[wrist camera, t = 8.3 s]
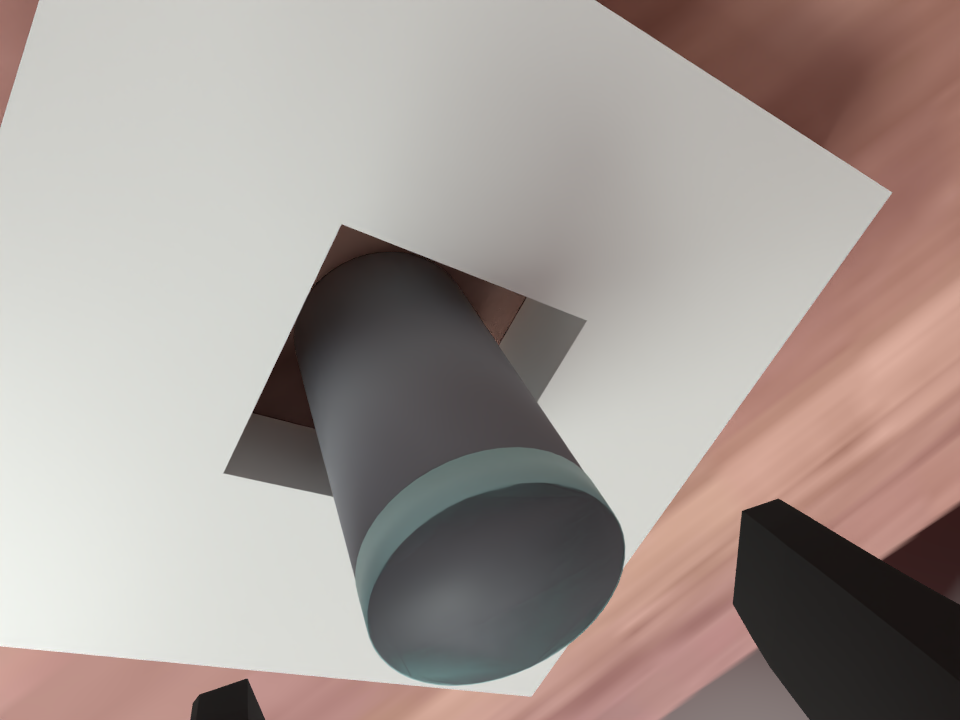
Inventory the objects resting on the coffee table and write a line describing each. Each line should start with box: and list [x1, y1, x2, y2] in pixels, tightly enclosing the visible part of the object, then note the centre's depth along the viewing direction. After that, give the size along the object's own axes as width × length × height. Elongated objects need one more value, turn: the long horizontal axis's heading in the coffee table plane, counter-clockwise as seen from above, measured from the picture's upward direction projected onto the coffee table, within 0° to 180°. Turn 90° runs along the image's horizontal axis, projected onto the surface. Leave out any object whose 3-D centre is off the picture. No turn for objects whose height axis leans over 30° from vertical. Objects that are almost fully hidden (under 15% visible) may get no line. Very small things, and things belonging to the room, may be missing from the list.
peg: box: [294, 252, 625, 686], centre depth 15 cm, size 4×4×8 cm
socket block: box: [0, 0, 892, 697], centre depth 18 cm, size 16×16×2 cm
